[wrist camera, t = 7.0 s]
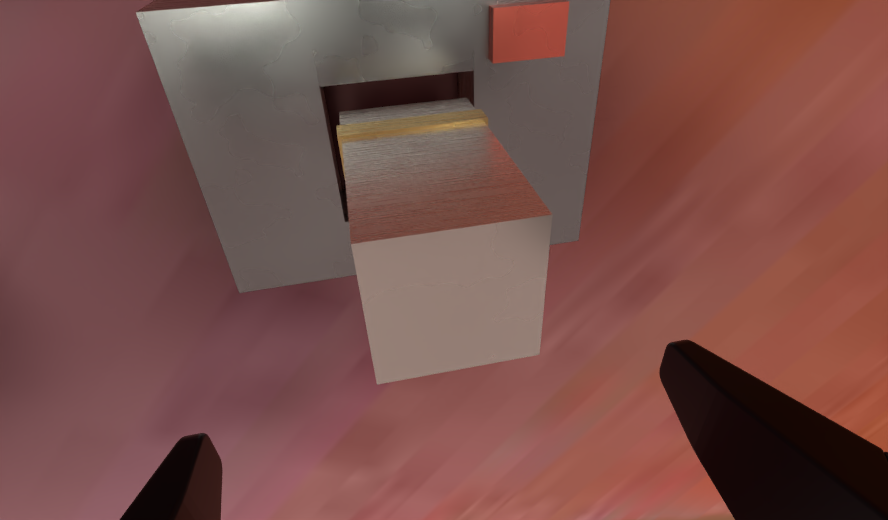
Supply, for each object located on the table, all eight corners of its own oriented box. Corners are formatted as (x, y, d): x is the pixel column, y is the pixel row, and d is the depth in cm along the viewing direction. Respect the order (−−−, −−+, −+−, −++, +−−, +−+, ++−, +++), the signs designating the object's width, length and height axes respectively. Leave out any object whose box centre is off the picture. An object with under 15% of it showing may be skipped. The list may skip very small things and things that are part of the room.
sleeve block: (246, 256, 22) (237, 301, 19) (159, -3, 16) (130, 15, 14) (556, 211, 24) (583, 246, 21) (580, -36, 18) (621, -26, 15)
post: (355, 226, 18) (373, 388, 12) (335, 108, 15) (344, 240, 10) (471, 209, 18) (542, 356, 13) (469, 94, 16) (557, 209, 10)
